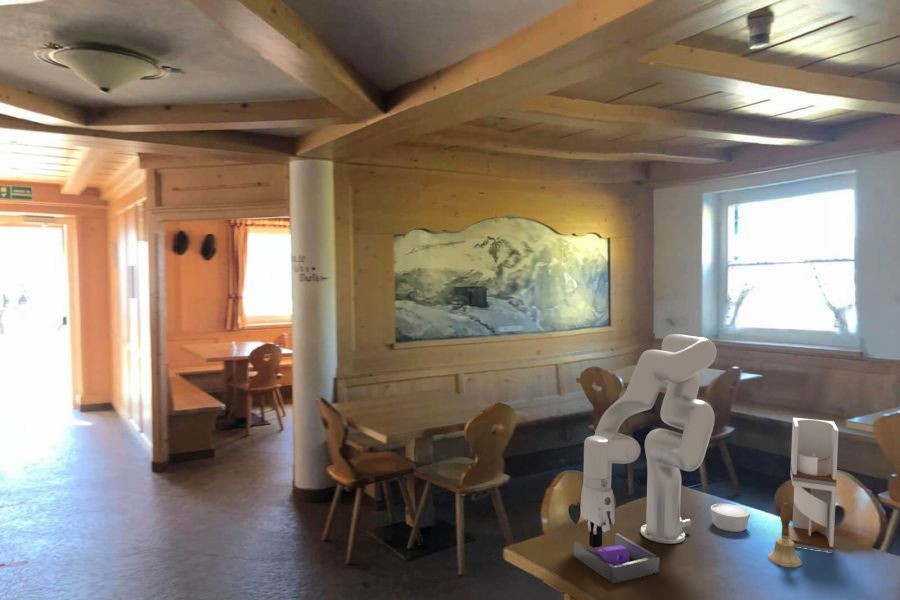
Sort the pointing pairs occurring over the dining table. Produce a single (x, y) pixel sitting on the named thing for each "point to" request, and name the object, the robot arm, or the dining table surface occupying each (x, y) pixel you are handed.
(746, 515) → the ramekin
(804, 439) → the display case
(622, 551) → the bracket
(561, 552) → the dining table surface
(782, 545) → the hand bell
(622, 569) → the tray
